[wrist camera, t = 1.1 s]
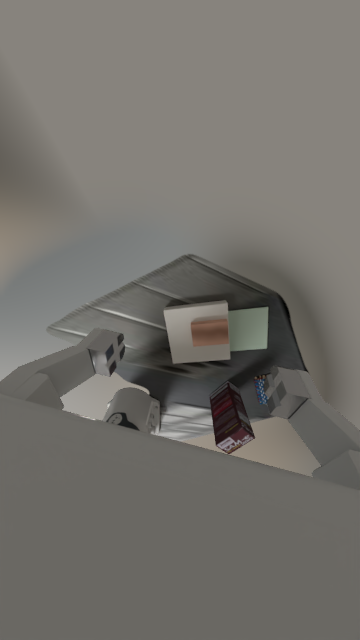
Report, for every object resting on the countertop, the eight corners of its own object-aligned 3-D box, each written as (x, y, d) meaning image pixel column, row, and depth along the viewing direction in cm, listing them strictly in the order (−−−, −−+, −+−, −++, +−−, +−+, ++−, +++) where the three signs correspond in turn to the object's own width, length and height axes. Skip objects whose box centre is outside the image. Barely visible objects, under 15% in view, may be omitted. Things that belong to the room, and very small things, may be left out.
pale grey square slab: (228, 353, 49) (230, 359, 47) (174, 357, 51) (173, 363, 49) (225, 300, 44) (227, 303, 41) (165, 307, 46) (163, 310, 43)
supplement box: (219, 403, 56) (228, 455, 41) (208, 395, 55) (214, 445, 41) (239, 388, 53) (256, 438, 39) (228, 379, 53) (241, 427, 38)
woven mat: (292, 394, 53) (296, 400, 51) (258, 401, 55) (260, 406, 53) (288, 368, 50) (292, 372, 48) (251, 375, 52) (254, 380, 50)
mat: (266, 347, 48) (266, 348, 47) (229, 350, 49) (229, 351, 49) (267, 306, 44) (268, 307, 43) (227, 311, 45) (227, 311, 45)
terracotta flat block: (227, 340, 45) (228, 343, 43) (193, 343, 46) (193, 346, 44) (226, 318, 43) (227, 321, 41) (190, 322, 44) (190, 325, 42)
